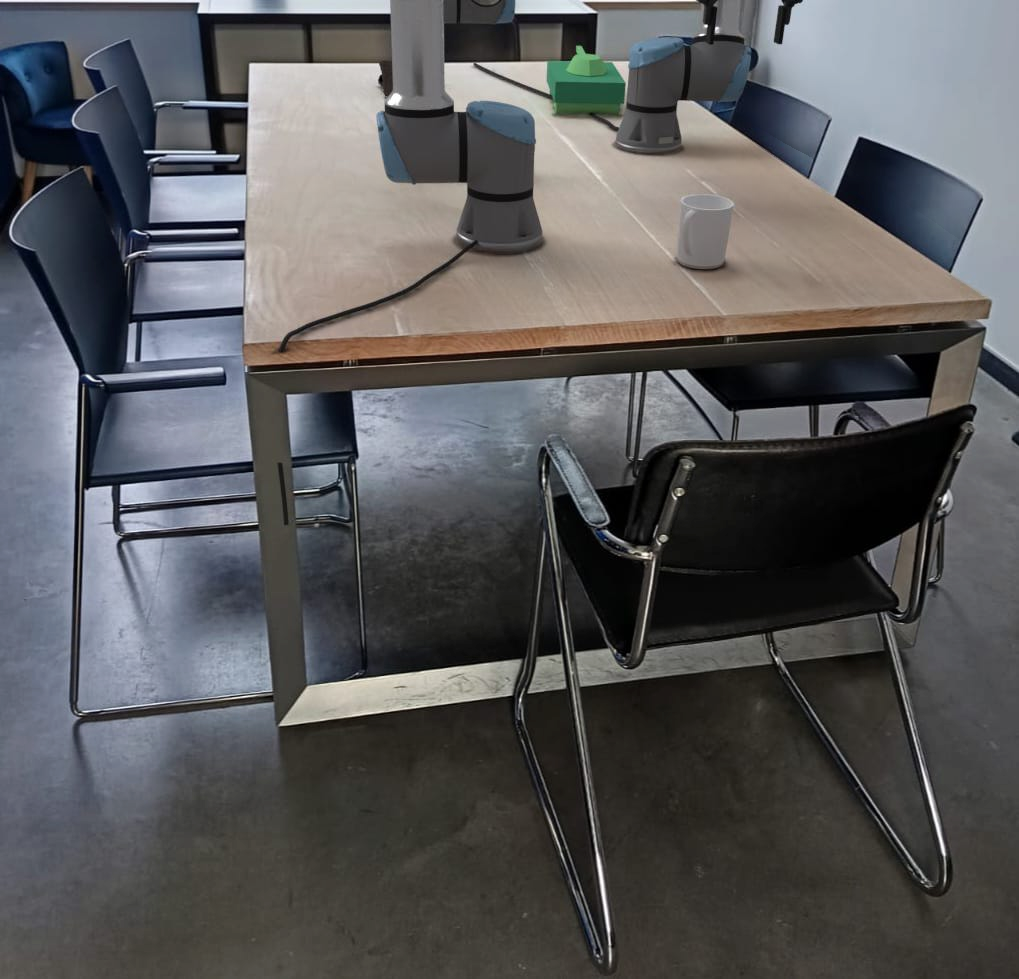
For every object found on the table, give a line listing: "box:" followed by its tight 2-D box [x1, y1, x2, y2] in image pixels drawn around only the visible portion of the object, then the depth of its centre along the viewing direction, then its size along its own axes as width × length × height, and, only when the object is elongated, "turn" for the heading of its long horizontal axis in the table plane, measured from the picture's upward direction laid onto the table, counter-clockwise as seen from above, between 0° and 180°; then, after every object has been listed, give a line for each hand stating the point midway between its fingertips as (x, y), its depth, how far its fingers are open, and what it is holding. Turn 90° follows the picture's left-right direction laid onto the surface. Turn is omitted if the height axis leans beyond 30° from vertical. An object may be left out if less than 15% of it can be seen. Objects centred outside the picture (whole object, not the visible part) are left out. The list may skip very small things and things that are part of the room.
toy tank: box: [546, 45, 627, 116], centre depth 289 cm, size 18×12×35 cm
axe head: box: [377, 59, 393, 98], centre depth 299 cm, size 18×8×15 cm
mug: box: [676, 193, 735, 270], centre depth 185 cm, size 11×9×10 cm
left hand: (419, 156), depth 228 cm, fingers open, 13 cm apart
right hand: (743, 43), depth 209 cm, fingers open, 13 cm apart
